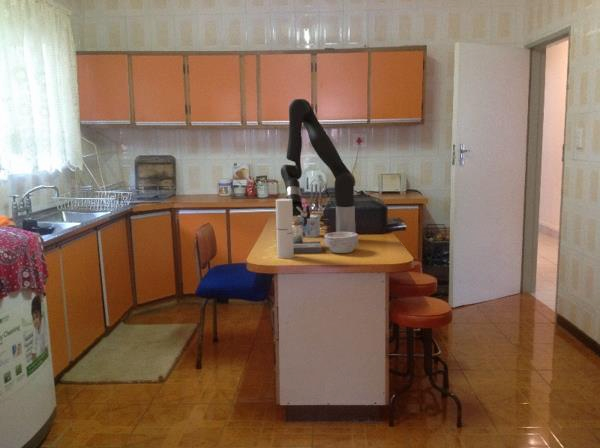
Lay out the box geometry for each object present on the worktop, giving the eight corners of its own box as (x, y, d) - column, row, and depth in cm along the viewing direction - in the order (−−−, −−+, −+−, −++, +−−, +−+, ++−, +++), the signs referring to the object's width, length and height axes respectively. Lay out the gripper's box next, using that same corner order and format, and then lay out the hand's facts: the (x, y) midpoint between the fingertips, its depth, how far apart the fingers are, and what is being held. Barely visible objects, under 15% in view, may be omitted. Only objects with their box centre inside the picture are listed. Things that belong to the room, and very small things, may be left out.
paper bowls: (324, 248, 254) (324, 231, 253) (357, 247, 254) (356, 230, 253) (324, 255, 239) (324, 237, 238) (359, 255, 239) (359, 237, 238)
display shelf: (320, 246, 257) (320, 238, 257) (321, 252, 244) (321, 244, 244) (284, 247, 257) (284, 239, 257) (283, 253, 244) (283, 244, 244)
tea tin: (300, 241, 257) (300, 220, 255) (304, 243, 252) (304, 222, 250) (289, 242, 255) (288, 221, 253) (293, 245, 250) (292, 223, 248)
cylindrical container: (277, 254, 242) (275, 199, 238) (293, 254, 243) (291, 198, 238) (277, 258, 235) (276, 201, 231) (294, 258, 236) (292, 200, 231)
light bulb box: (296, 236, 283) (296, 216, 281) (301, 234, 289) (301, 214, 287) (315, 237, 279) (315, 216, 277) (320, 235, 285) (320, 214, 283)
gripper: (279, 193, 260) (280, 221, 251) (308, 192, 261) (311, 220, 252) (278, 203, 266) (280, 230, 257) (307, 202, 267) (310, 229, 258)
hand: (295, 225), depth 254 cm, fingers open, 8 cm apart
